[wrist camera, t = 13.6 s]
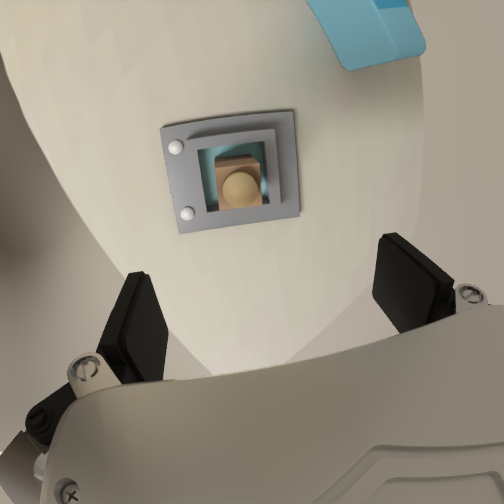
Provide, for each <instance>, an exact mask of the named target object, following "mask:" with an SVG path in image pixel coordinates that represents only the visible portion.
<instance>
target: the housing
mask: <svg viewBox="0 0 504 504" xmlns="http://www.w3.org/2000/svg"><path fill="white" fill-rule="evenodd" d="M160 134H161V140H162V147H163V153H164V159H165V164H166V170H167V176H168V181H169V186H170V192H171V197H172V202H173V207H174V212H175V216H176V221H177V226H178V230H179V234H185V233H191V232H197V231H204V230H210V229H217V228H223V227H230V226H236V225H243V224H250V223H257V222H264V221H271V220H279V219H286V218H294V217H300V211H299V190H298V173H297V158H296V144H295V131H294V120H293V111H292V112H275V113H262V114H251V115H241V116H232V117H224V118H217V119H210V120H203V121H197V122H191V123H186V124H180V125H175V126H170V127H165V128H160ZM245 154H250V155H251V156H252V157H254V158H255V159H256V160H257V161H258V162H259V164H260V178H261V193H262V205H261V206H252V207H243V208H235V209H226V210H219V202H218V194H217V186H216V177H215V167H214V158H217V157H226V156H235V155H245Z"/></svg>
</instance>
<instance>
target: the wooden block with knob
mask: <svg viewBox="0 0 504 504" xmlns="http://www.w3.org/2000/svg"><path fill="white" fill-rule="evenodd" d="M214 167H215V177H216V186H217V194H218V202H219V210H226V209H235V208H243V207H252V206H261V205H262V193H261V178H260V164H259V162H258V161H257V160H256V159H255V158H254V157H252V156H251V155H250V154H245V155H235V156H226V157H217V158H214Z"/></svg>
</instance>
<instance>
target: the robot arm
mask: <svg viewBox="0 0 504 504" xmlns="http://www.w3.org/2000/svg"><path fill="white" fill-rule="evenodd" d="M453 284H454V279H452V278H451V277H450V276H449V275H448V274H447V273H446V272H444V271H443V270H442V269H441V268H439V266H437V265H436V264H435V263H434V262H433V261H431V260H430V259H429V258H428V257H427V256H425V255H424V254H423V253H421V252H420V251H419V250H418V249H417V248H415V247H414V246H413V245H412V244H410V243H409V242H408V241H407V240H405V239H404V238H403V237H401V236H400V235H399V234H397V233H396V232H394V233H388V234H383V235H382V238H380V239H379V243H378V252H377V261H376V268H375V276H374V283H373V290H372V295H373V298H374V299H375V301H376V302H377V304H378V305H379V306H380V307H381V309H382V310H383V311H384V313H385V314H386V315H387V317H388V318H389V319H390V321H391V322H392V324H393V325H394V326H395V328H396V329H397V330H398V332H399V333H400V334H398V335H395V336H392V337H389V338H385V339H382V340H378V341H376V342H372V343H368V344H365V345H361V346H357V347H354V348H350V349H346V350H343V351H339V352H335V353H331V354H327V355H322V356H318V357H314V358H309V359H305V360H300V361H296V362H291V363H286V364H280V365H275V366H270V367H264V368H259V369H253V370H247V371H240V372H234V373H227V374H219V375H211V376H203V377H194V378H184V379H171V380H163V373H164V365H165V356H166V349H167V342H168V327H167V325H166V322H165V319H164V316H163V314H162V311H161V308H160V305H159V302H158V299H157V297H156V294H155V291H154V288H153V285H152V282H151V279H150V276H149V275H148V274H145V273H144V272H143V271H140V272H134V273H129V274H128V276H127V278H126V280H125V283H124V285H123V287H122V289H121V292H120V294H119V296H118V299H117V301H116V303H115V306H114V308H113V310H112V312H111V314H110V316H109V319H108V321H107V324H106V326H105V329H104V331H103V334H102V337H101V339H100V342H99V345H98V347H97V350H96V353H94V352H89V353H84V354H82V355H80V356H78V357H77V358H75V359H74V360H73V361H72V362H71V364H70V365H69V367H68V370H67V377H68V380H69V382H68V383H67V384H65V385H64V386H62V387H61V388H60V389H58V390H57V391H55V392H54V393H53V394H51V395H50V396H48V397H47V398H45V399H44V400H42V401H41V402H40V403H38V404H37V405H35V406H34V407H33V408H32V409H31V410H30V411H29V413H28V414H27V417H26V422H25V426H26V431H25V432H23V431H22V430H21V431H20V432H19V433H18V434H17V435H16V437H15V438H14V439H13V441H12V442H11V443H10V444H9V445H8V446H7V448H6V449H5V450H4V452H3V453H2V454H1V455H0V485H1V486H2V488H3V489H4V491H5V492H6V494H7V495H8V496H9V498H10V499H11V500H12V502H13V503H14V504H504V306H503V305H491V304H488V301H487V297H486V295H485V293H484V292H483V291H482V290H481V289H480V288H478V287H476V286H475V285H471V284H460V285H458V286H457V288H456V289H455V290H454V289H453V288H452V287H453Z"/></svg>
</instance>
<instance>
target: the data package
mask: <svg viewBox="0 0 504 504" xmlns="http://www.w3.org/2000/svg"><path fill="white" fill-rule="evenodd" d="M307 2H308V4H309V6H310V7H311V9H312V11H313V12H314V14H315V16H316V17H317V19H318V21H319V23H320V24H321V26H322V28H323V30H324V32H325V33H326V35H327V37H328V39H329V41H330V43H331V45H332V47H333V49H334V51H335V53H336V55H337V57H338V59H339V61H340V63H341V64H342V66H343V67H344V68H345V69H347V70H349V71H353V70H357V69H361V68H365V67H369V66H373V65H378V64H382V63H387V62H392V61H396V60H400V59H405V58H409V57H414V56H419V55H422V54H423V53H424V51H425V49H426V43H425V39H424V37H423V35H422V33H421V30H420V28H419V26H418V24H417V22H416V20H415V18H414V16H413V14H412V12H411V10H410V8H409V6H408V4H407V3H406V1H405V0H307Z"/></svg>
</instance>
